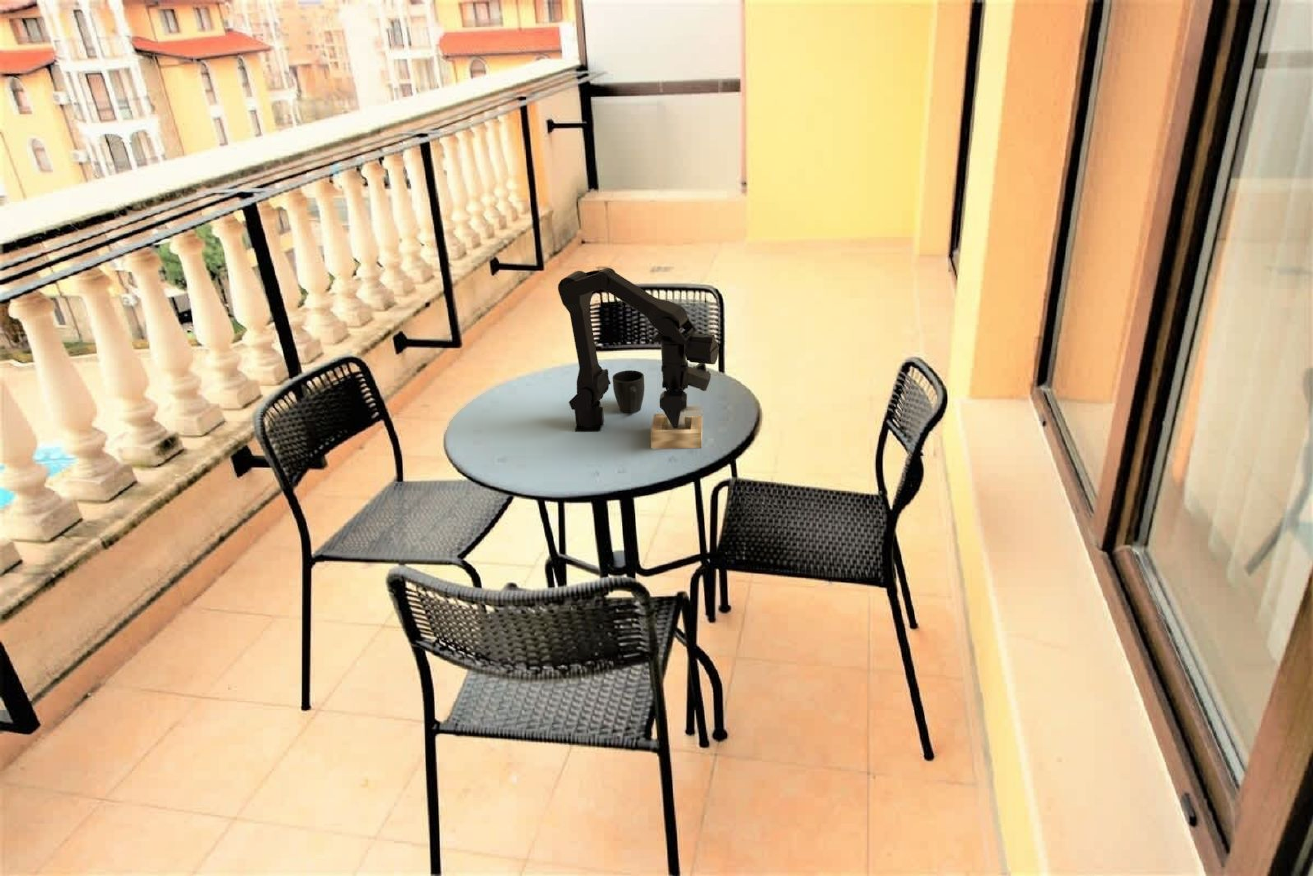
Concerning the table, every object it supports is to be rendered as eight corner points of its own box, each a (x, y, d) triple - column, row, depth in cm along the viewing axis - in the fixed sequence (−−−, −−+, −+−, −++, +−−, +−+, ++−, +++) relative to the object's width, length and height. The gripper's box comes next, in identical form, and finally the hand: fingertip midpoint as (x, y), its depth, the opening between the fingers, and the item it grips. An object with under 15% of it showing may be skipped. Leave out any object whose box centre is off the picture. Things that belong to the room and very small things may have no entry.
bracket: (668, 442, 205) (667, 412, 201) (669, 434, 208) (668, 405, 205) (701, 441, 204) (700, 411, 200) (702, 434, 208) (701, 404, 204)
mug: (618, 423, 215) (615, 389, 211) (613, 404, 226) (610, 371, 222) (650, 419, 216) (648, 385, 212) (643, 401, 227) (641, 368, 223)
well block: (651, 448, 202) (650, 433, 200) (654, 428, 212) (654, 414, 210) (701, 448, 201) (700, 433, 199) (702, 427, 211) (702, 413, 209)
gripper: (707, 374, 188) (709, 436, 195) (709, 344, 205) (710, 403, 212) (657, 375, 189) (661, 437, 196) (663, 345, 206) (666, 403, 213)
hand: (676, 419), depth 204 cm, fingers open, 9 cm apart
